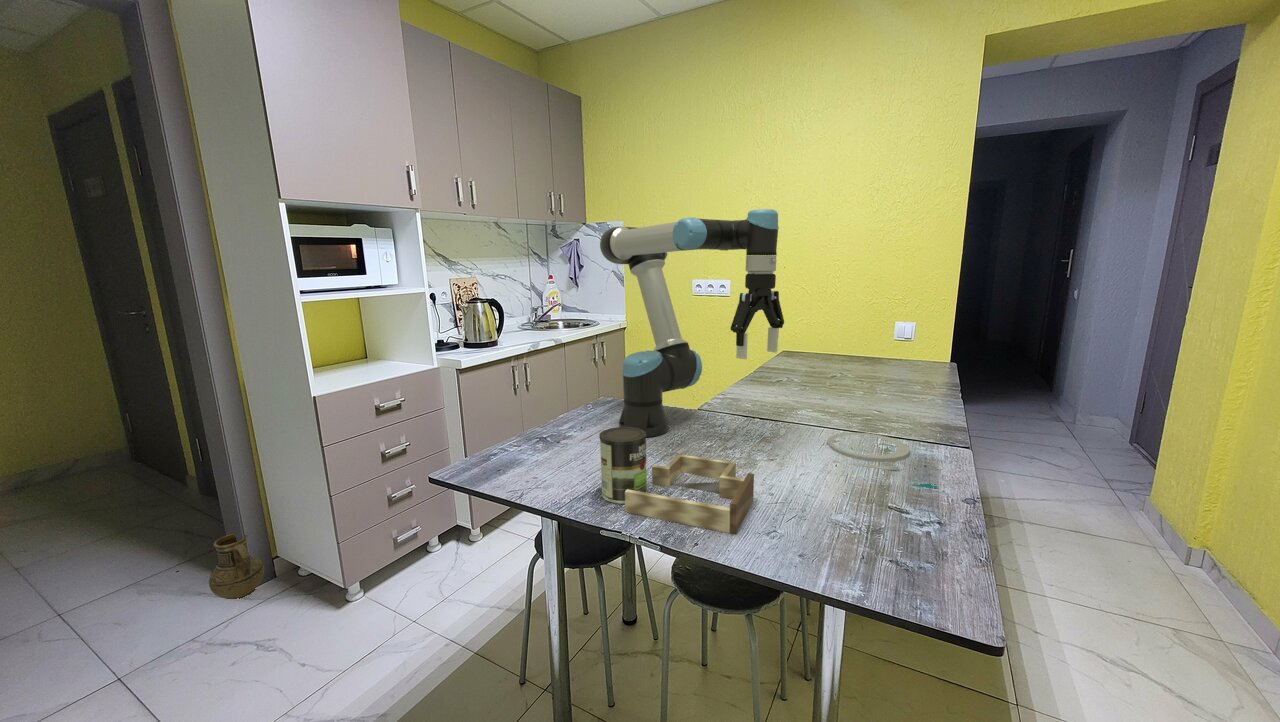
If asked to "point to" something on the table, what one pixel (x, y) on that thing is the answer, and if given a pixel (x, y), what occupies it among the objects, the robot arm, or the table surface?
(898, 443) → the place mat
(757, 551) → the table surface
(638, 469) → the coffee can
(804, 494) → the table surface
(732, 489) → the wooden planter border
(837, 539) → the table surface
